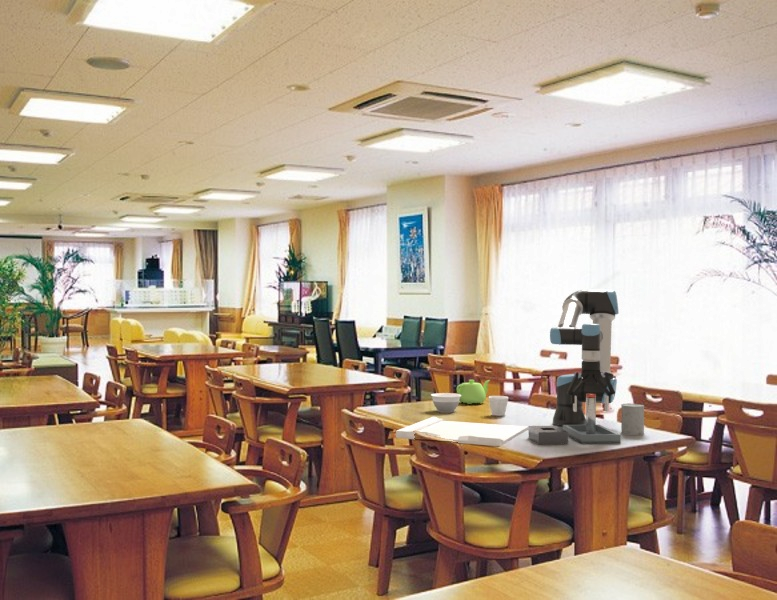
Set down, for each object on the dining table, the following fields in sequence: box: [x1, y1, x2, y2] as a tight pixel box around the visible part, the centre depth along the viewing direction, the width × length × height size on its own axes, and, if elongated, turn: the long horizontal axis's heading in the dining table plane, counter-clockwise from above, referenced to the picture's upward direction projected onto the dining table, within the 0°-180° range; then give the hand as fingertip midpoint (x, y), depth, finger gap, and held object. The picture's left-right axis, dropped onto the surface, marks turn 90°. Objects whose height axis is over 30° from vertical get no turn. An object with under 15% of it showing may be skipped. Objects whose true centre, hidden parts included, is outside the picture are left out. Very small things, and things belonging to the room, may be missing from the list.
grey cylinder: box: [620, 403, 645, 436], centre depth 346 cm, size 10×10×12 cm
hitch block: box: [528, 425, 569, 446], centre depth 326 cm, size 16×12×5 cm
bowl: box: [430, 392, 461, 414], centre depth 412 cm, size 16×16×9 cm
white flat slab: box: [395, 416, 529, 447], centre depth 345 cm, size 45×45×4 cm
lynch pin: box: [585, 394, 597, 434], centre depth 334 cm, size 4×4×17 cm
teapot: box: [456, 379, 491, 405], centre depth 444 cm, size 22×15×13 cm
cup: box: [488, 395, 509, 417], centre depth 398 cm, size 10×10×9 cm
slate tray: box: [562, 424, 622, 445], centre depth 334 cm, size 26×16×4 cm, turn 4°
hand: (590, 411), depth 334 cm, fingers open, 13 cm apart
